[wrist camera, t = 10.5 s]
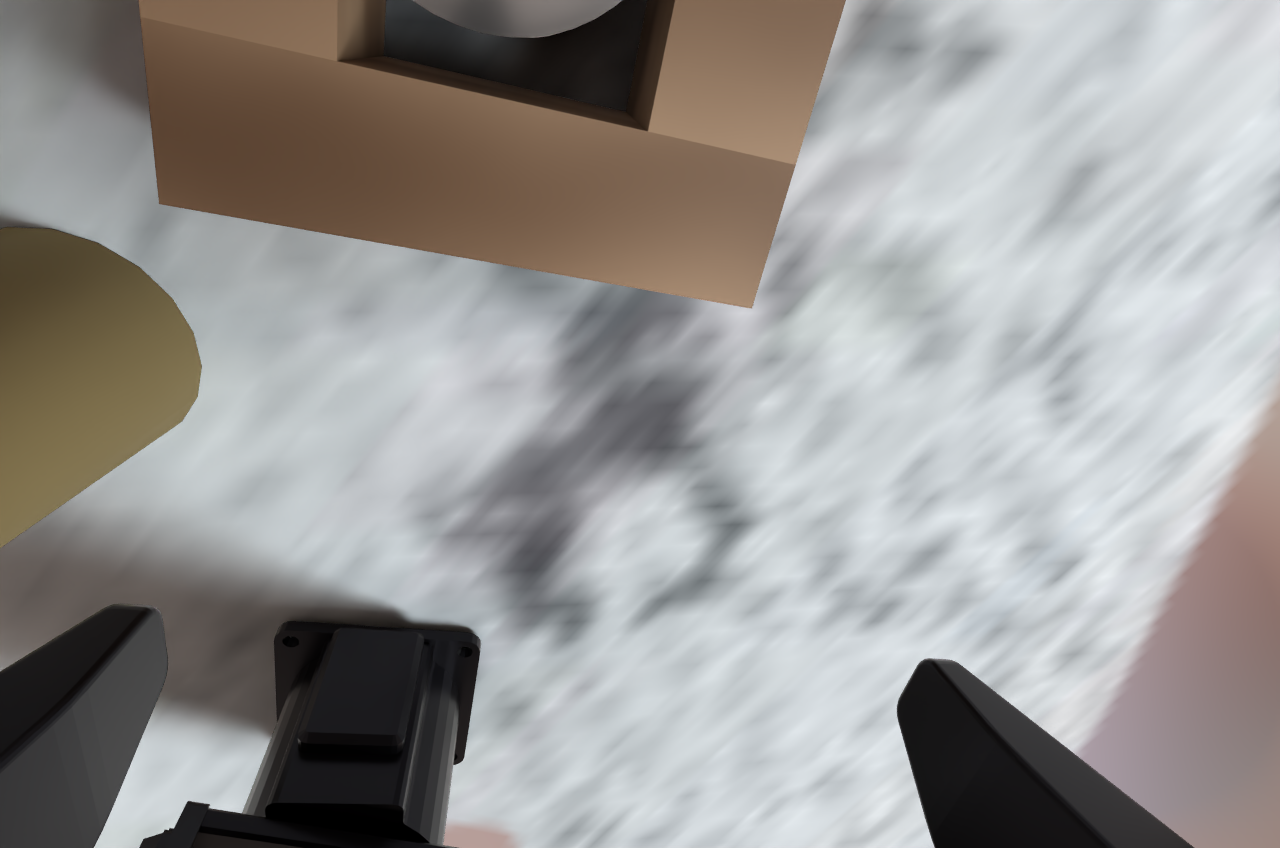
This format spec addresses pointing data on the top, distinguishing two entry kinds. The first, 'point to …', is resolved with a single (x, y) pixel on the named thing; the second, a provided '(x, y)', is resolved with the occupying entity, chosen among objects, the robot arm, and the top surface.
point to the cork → (81, 369)
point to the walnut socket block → (494, 138)
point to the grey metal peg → (518, 15)
